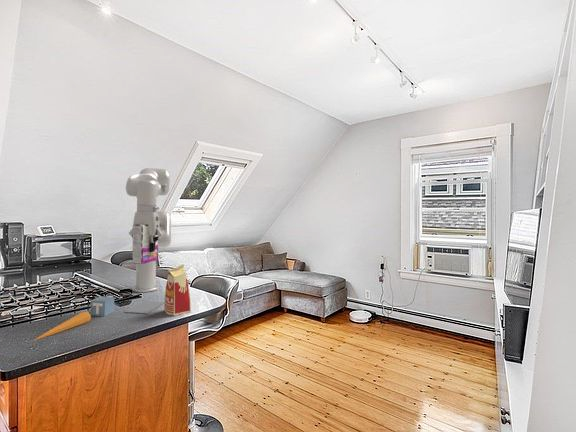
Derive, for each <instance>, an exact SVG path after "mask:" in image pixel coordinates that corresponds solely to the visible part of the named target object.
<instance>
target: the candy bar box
mask: <svg viewBox="0 0 576 432" xmlns="http://www.w3.org/2000/svg"><path fill="white" fill-rule="evenodd" d="M132 229H133V238H132V264H135V265H136V264H145V263H148V262H151V261H154V260H156V261H157V260H159V247H158V240H157V242H156V245H155V251H154V252H149V250H150V243H151V240H150V236H149V235H148V225H145V224H135V225H133V224H132ZM155 236H156V237H157V236H158V235H155Z"/></svg>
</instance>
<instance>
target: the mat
mask: <svg viewBox="0 0 576 432" xmlns="http://www.w3.org/2000/svg"><path fill="white" fill-rule="evenodd" d="M161 306H164V301H149V300H143V301H141V302H139V303H137V304H136V305H133V306H132V307H129V308H128V309H126V310H125V311H124V312H123V313H127V314H140V315H149V314H150V313H151V312H153V311H155V310H156V309H158V308H159V307H161Z"/></svg>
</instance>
